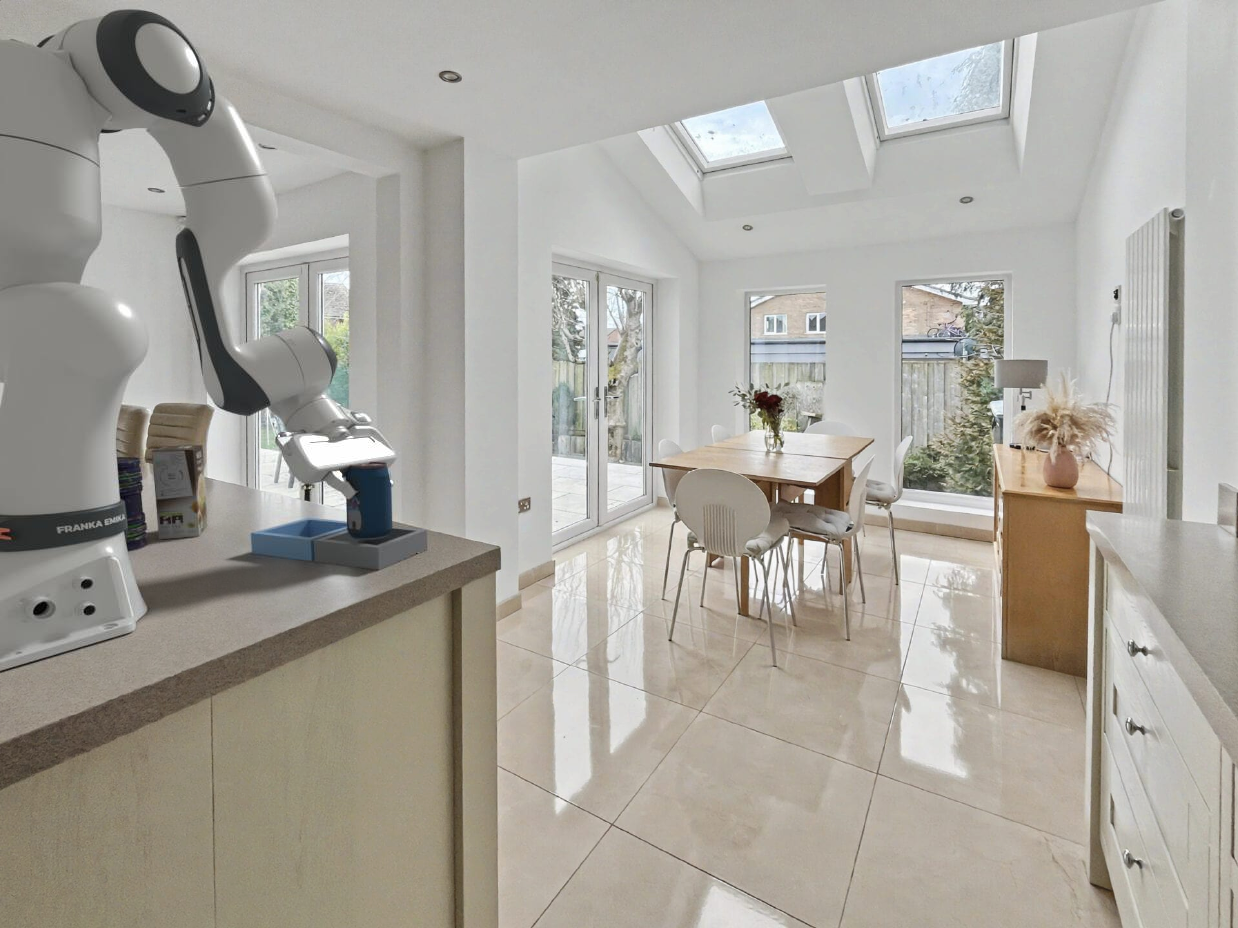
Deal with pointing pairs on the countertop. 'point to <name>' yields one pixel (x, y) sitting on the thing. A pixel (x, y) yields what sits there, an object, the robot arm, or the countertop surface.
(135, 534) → the storage jar
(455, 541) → the countertop surface
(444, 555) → the countertop surface
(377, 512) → the soda can
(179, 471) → the coffee box
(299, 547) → the frame
